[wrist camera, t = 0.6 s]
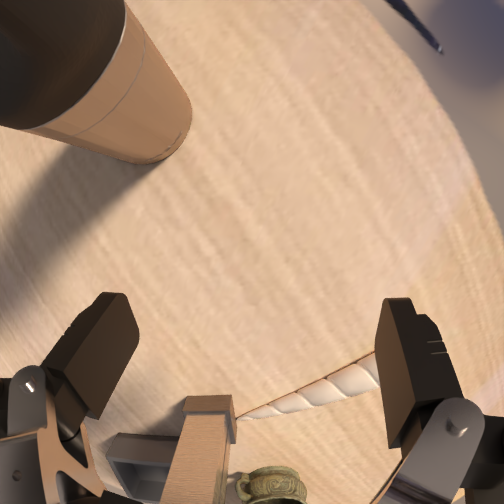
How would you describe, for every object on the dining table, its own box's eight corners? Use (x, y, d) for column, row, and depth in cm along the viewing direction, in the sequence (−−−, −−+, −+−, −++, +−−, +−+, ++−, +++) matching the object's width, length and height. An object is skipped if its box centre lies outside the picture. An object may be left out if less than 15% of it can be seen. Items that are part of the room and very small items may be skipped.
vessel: (219, 481, 35) (214, 514, 28) (256, 449, 34) (256, 485, 27) (287, 506, 36) (289, 536, 29) (326, 477, 34) (334, 509, 28)
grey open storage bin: (139, 477, 35) (130, 500, 30) (118, 432, 34) (105, 456, 29) (201, 481, 35) (196, 507, 30) (185, 436, 33) (178, 463, 28)
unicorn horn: (223, 393, 32) (218, 418, 28) (422, 316, 31) (443, 331, 26) (239, 422, 33) (237, 449, 28) (427, 350, 32) (447, 368, 27)
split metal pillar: (195, 428, 33) (160, 567, 13) (187, 395, 32) (138, 542, 13) (237, 427, 33) (224, 574, 13) (231, 394, 32) (212, 551, 12)
